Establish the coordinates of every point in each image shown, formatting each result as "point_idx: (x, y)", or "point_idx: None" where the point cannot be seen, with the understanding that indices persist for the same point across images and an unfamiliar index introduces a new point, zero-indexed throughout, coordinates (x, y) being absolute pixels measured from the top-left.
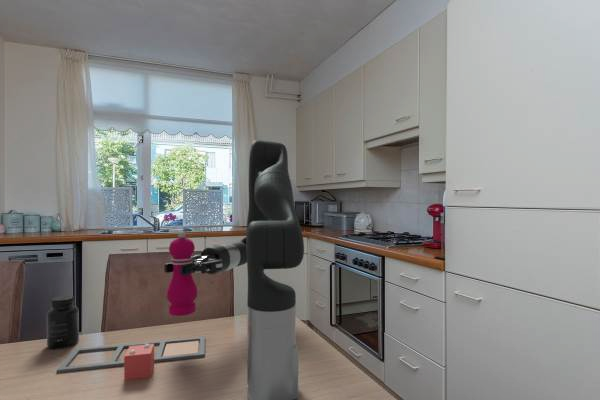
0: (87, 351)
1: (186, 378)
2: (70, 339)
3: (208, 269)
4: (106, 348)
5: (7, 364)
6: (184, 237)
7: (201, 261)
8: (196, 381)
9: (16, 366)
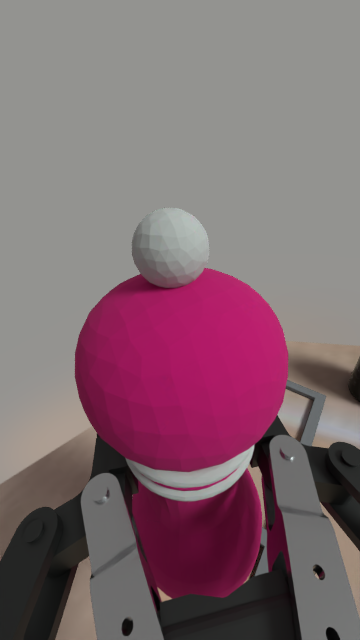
0: (311, 408)
1: (85, 476)
2: (357, 389)
3: (42, 635)
4: (304, 430)
5: (316, 344)
6: (149, 281)
7: (91, 570)
8: (61, 483)
9: (303, 348)
